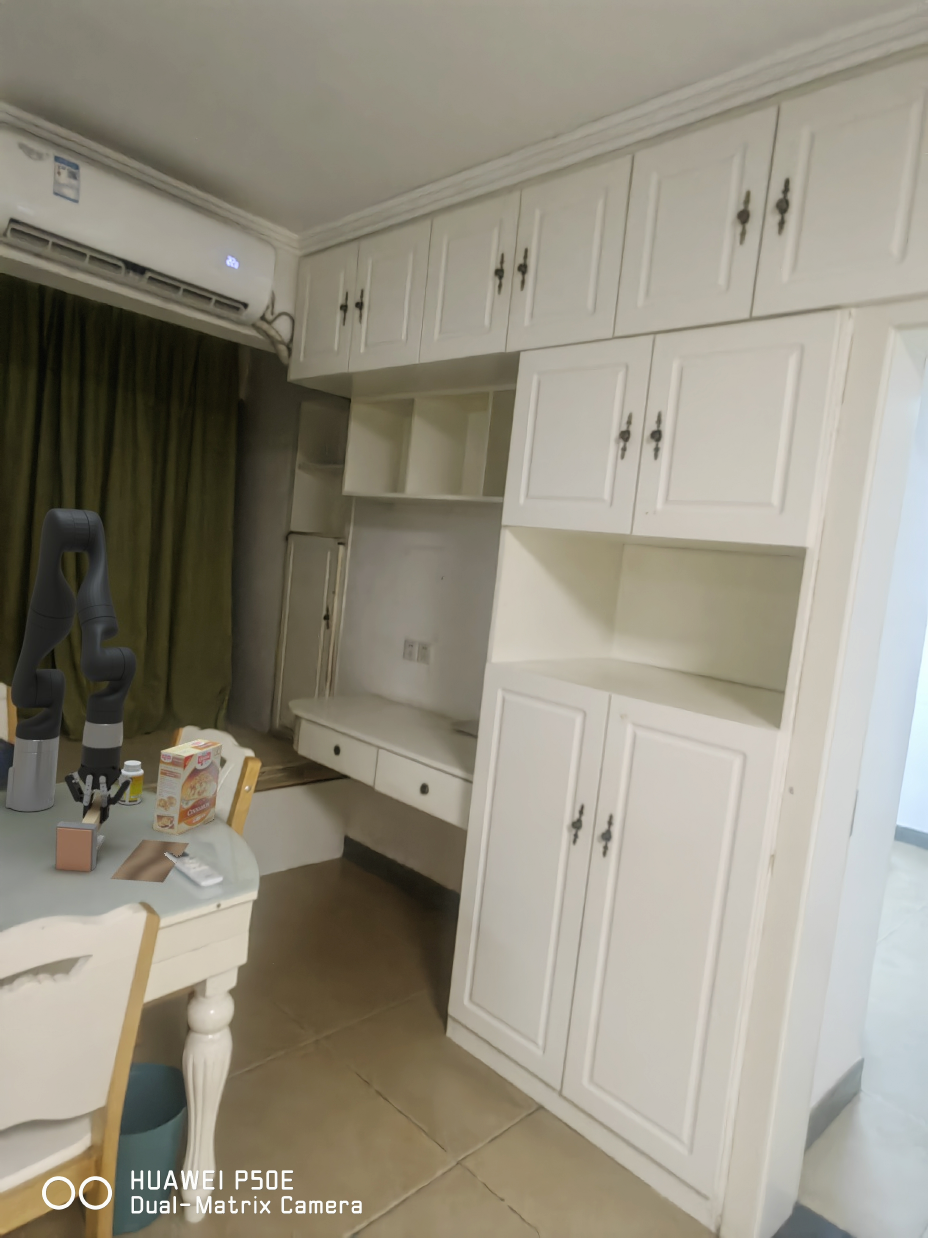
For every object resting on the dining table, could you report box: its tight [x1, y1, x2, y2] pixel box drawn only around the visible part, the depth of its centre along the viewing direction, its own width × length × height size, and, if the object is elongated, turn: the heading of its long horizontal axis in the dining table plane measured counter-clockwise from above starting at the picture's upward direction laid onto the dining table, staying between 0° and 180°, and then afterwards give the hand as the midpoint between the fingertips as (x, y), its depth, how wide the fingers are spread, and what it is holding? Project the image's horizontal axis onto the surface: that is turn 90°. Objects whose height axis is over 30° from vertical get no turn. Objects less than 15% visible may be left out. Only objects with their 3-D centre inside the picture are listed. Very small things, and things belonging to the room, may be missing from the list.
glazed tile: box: [55, 820, 98, 872], centre depth 149 cm, size 7×2×10 cm, turn 96°
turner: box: [81, 791, 112, 853], centre depth 156 cm, size 14×6×4 cm, turn 6°
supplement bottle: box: [117, 760, 145, 806], centre depth 190 cm, size 6×6×10 cm
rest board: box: [110, 839, 190, 883], centre depth 158 cm, size 10×20×1 cm, turn 6°
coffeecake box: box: [152, 738, 223, 836], centre depth 179 cm, size 15×7×20 cm, turn 164°
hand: (95, 821), depth 158 cm, fingers closed on turner, 2 cm apart
